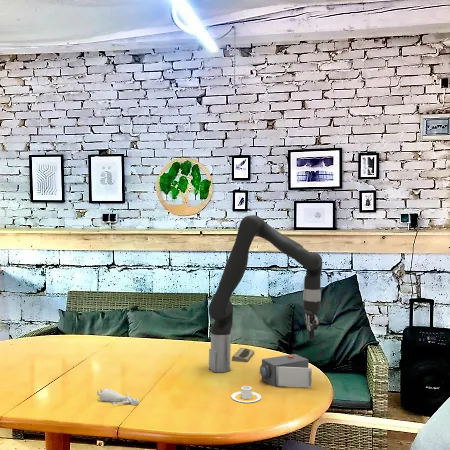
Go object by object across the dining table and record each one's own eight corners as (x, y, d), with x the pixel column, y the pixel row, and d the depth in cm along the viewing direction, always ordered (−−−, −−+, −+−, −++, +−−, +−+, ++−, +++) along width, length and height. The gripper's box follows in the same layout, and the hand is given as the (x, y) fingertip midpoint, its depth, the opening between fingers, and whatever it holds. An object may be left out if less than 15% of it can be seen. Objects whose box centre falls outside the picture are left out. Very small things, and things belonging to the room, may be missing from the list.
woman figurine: (107, 382, 205) (146, 391, 199) (107, 393, 205) (145, 402, 199) (90, 392, 194) (130, 402, 188) (89, 403, 194) (130, 413, 188)
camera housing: (269, 387, 213) (269, 364, 213) (256, 380, 222) (257, 358, 222) (308, 379, 223) (308, 357, 223) (294, 373, 232) (294, 352, 232)
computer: (247, 363, 247) (247, 356, 247) (231, 361, 249) (231, 355, 249) (254, 354, 262) (254, 348, 262) (239, 353, 265) (239, 346, 264)
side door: (275, 386, 213) (276, 367, 213) (275, 384, 215) (276, 366, 215) (311, 387, 212) (311, 369, 211) (311, 386, 213) (311, 367, 213)
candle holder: (252, 406, 194) (252, 395, 194) (225, 399, 200) (225, 389, 200) (266, 396, 204) (266, 386, 204) (240, 390, 210) (240, 380, 210)
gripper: (297, 296, 223) (297, 335, 224) (310, 302, 211) (309, 343, 211) (313, 296, 225) (312, 334, 226) (326, 301, 213) (325, 342, 213)
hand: (311, 338), depth 219 cm, fingers closed
